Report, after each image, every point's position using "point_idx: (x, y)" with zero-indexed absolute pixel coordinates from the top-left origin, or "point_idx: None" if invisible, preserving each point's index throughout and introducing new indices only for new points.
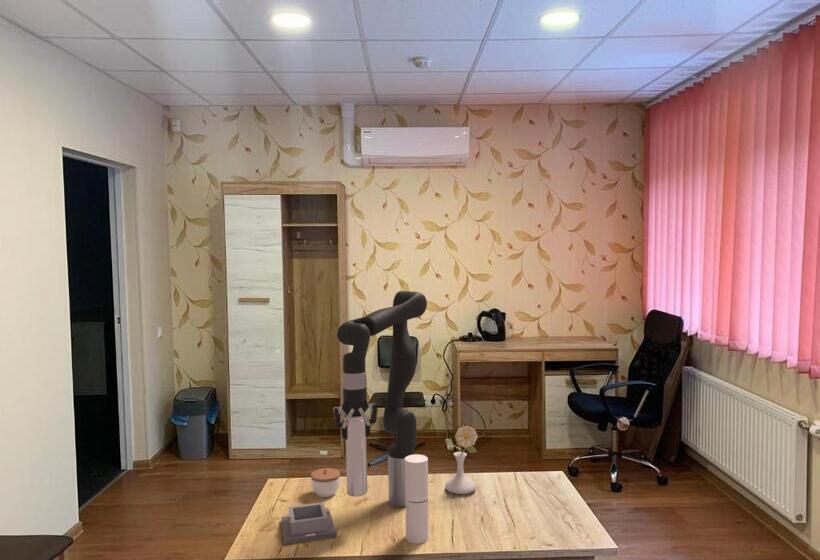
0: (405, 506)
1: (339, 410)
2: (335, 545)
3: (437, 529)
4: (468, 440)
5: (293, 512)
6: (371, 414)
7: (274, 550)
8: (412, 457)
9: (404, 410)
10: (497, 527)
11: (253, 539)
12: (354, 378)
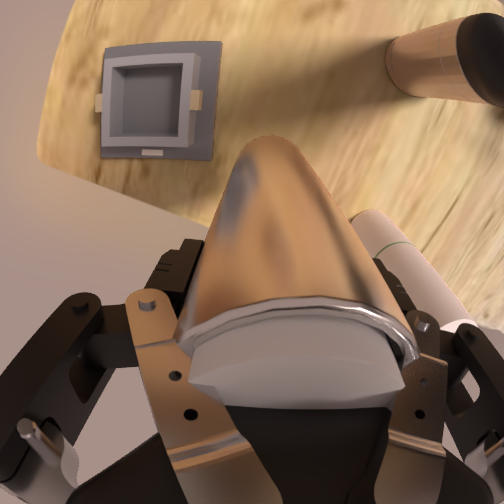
0: (372, 254)
1: (58, 482)
2: (202, 192)
3: (416, 219)
4: None
5: (119, 67)
6: (481, 386)
7: (89, 170)
8: None
9: None
10: (484, 255)
11: (57, 117)
12: None
